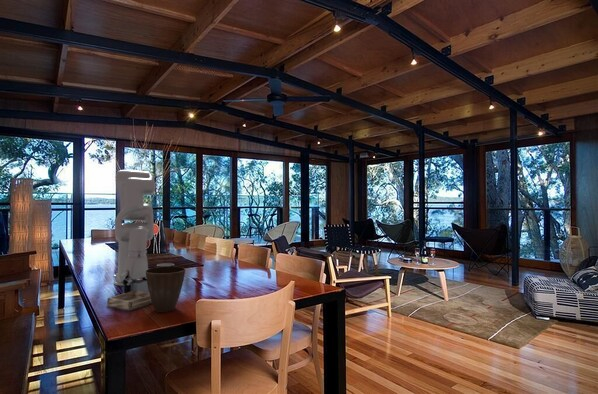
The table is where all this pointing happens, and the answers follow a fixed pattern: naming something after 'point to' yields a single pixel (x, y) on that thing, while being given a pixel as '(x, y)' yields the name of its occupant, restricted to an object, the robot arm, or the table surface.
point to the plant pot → (165, 287)
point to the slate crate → (139, 286)
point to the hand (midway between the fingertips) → (135, 291)
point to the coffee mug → (164, 265)
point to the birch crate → (129, 301)
